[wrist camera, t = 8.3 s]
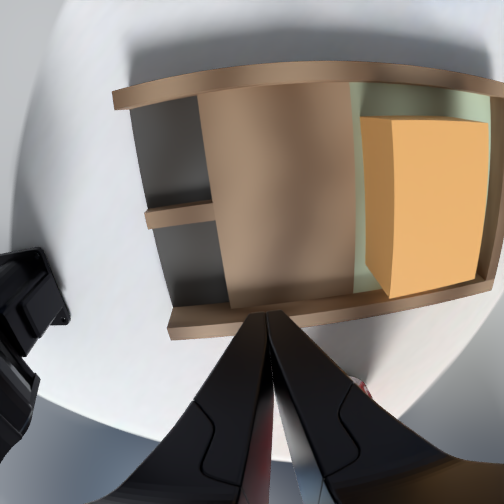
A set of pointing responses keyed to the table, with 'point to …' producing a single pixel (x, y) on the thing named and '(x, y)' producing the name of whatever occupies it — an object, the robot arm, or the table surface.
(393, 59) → the table surface
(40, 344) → the table surface
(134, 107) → the trap box
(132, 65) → the table surface
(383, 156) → the block
